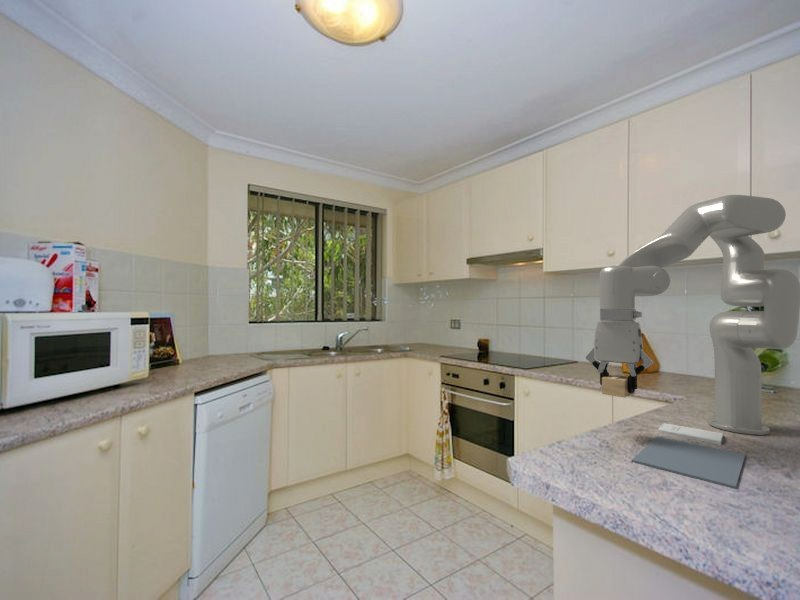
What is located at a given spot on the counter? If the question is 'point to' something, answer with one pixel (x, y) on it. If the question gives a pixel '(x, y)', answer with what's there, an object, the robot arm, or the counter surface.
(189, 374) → the counter surface
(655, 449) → the mat
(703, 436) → the external hard drive
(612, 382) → the taped cardboard box
